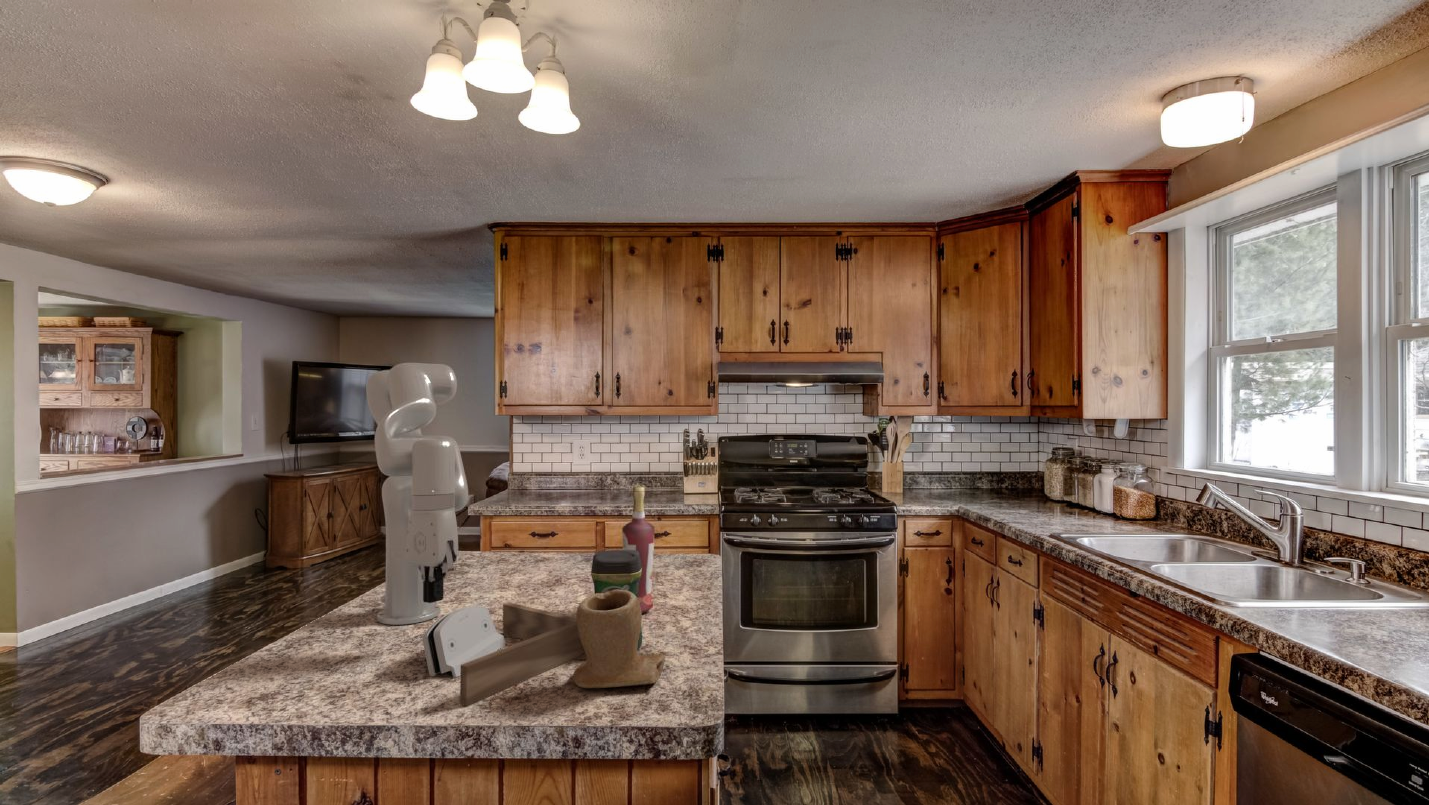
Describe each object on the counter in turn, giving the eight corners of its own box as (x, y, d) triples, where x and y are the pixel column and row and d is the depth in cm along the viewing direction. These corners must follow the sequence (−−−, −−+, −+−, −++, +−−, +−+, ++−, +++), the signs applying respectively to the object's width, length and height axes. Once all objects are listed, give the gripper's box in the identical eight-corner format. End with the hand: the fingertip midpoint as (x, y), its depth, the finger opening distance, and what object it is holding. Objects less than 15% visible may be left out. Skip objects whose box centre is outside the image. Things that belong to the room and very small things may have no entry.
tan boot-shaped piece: (567, 701, 100) (567, 604, 100) (577, 670, 111) (578, 583, 112) (665, 698, 101) (665, 602, 101) (665, 668, 112) (665, 582, 113)
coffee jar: (643, 640, 126) (644, 546, 126) (640, 655, 118) (640, 554, 118) (594, 641, 126) (595, 546, 126) (587, 656, 118) (587, 554, 118)
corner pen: (385, 675, 109) (386, 640, 109) (508, 632, 131) (509, 602, 131) (466, 706, 97) (466, 667, 98) (586, 653, 119) (586, 620, 120)
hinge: (455, 679, 108) (437, 621, 109) (431, 686, 109) (414, 629, 109) (507, 644, 124) (491, 594, 125) (486, 650, 125) (471, 601, 126)
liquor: (658, 614, 143) (659, 488, 143) (626, 618, 140) (627, 489, 141) (648, 605, 150) (649, 484, 150) (618, 608, 147) (618, 486, 147)
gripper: (392, 503, 123) (391, 600, 122) (440, 507, 115) (439, 611, 114) (427, 500, 129) (427, 592, 128) (475, 503, 121) (475, 601, 120)
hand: (433, 600), depth 121 cm, fingers closed
